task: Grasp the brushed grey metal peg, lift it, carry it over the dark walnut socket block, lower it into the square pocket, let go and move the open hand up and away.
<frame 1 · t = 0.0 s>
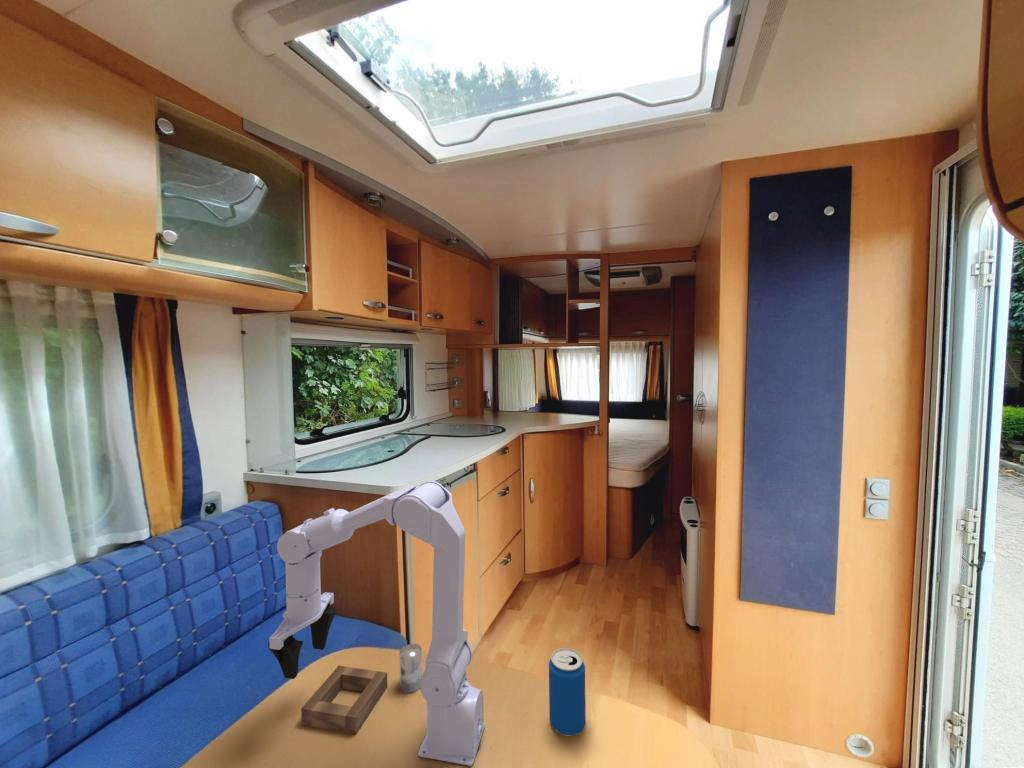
hand: (305, 661, 75), 10 cm above the table, tool pointing down, fingers open, 7 cm apart
metal peg: (411, 684, 82), on the table
beverage can: (567, 724, 73), on the table
walnut socket block: (346, 704, 77), on the table
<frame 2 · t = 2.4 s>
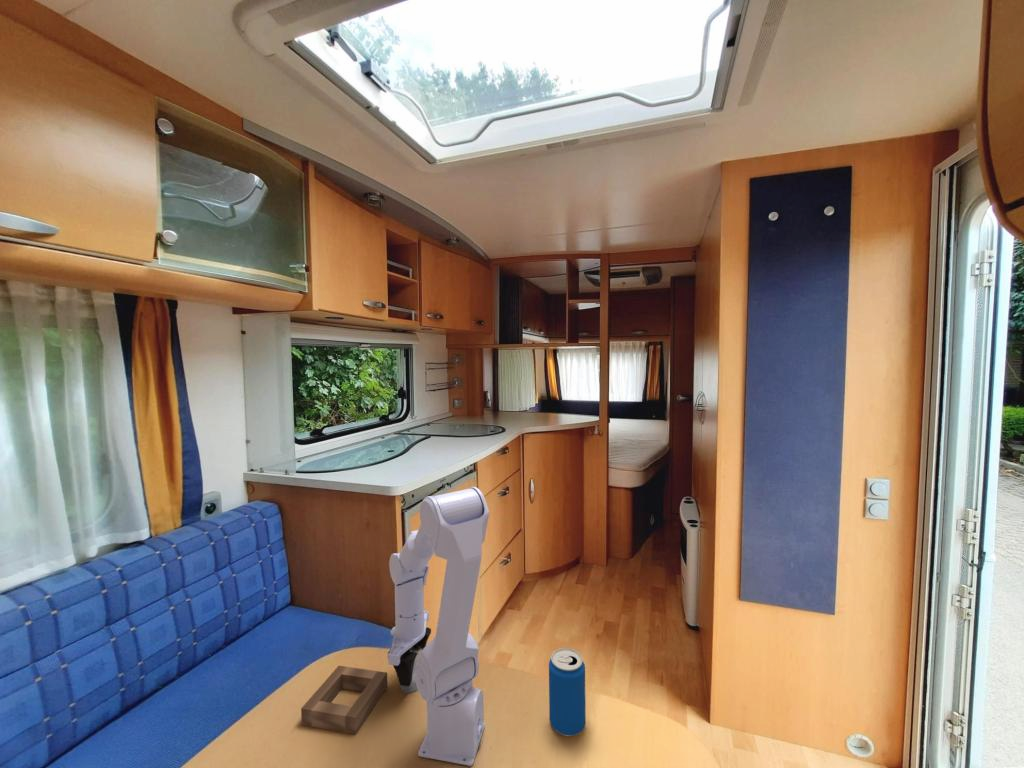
hand: (411, 675, 82), 2 cm above the table, tool pointing down, fingers closed on metal peg, 4 cm apart
metal peg: (411, 684, 82), on the table, touching gripper
everything else where it was.
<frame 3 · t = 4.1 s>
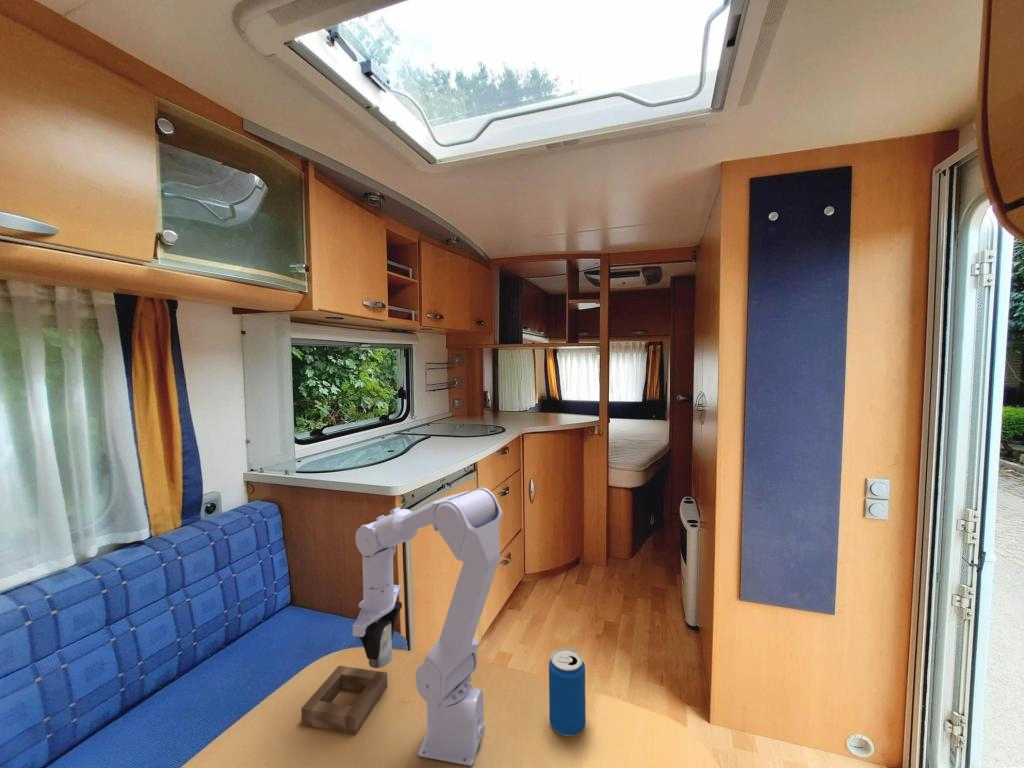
hand: (379, 649, 80), 9 cm above the table, tool pointing down, fingers closed on metal peg, 4 cm apart
metal peg: (380, 660, 80), point 7 cm above the table, touching gripper
everything else where it was.
when the fingers open (4 cm above the table, at t = 6.3 s): metal peg drops 1 cm, resting in walnut socket block.
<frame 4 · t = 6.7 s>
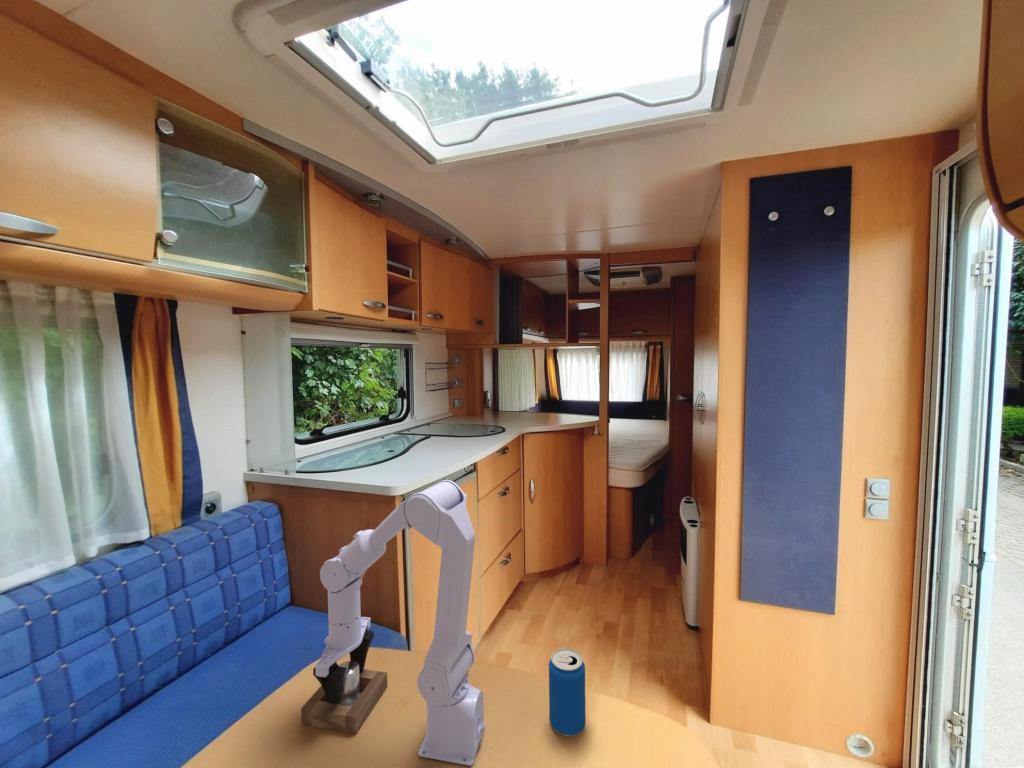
hand: (346, 686, 77), 4 cm above the table, tool pointing down, fingers open, 7 cm apart
metal peg: (347, 704, 78), resting in walnut socket block
everything else where it was.
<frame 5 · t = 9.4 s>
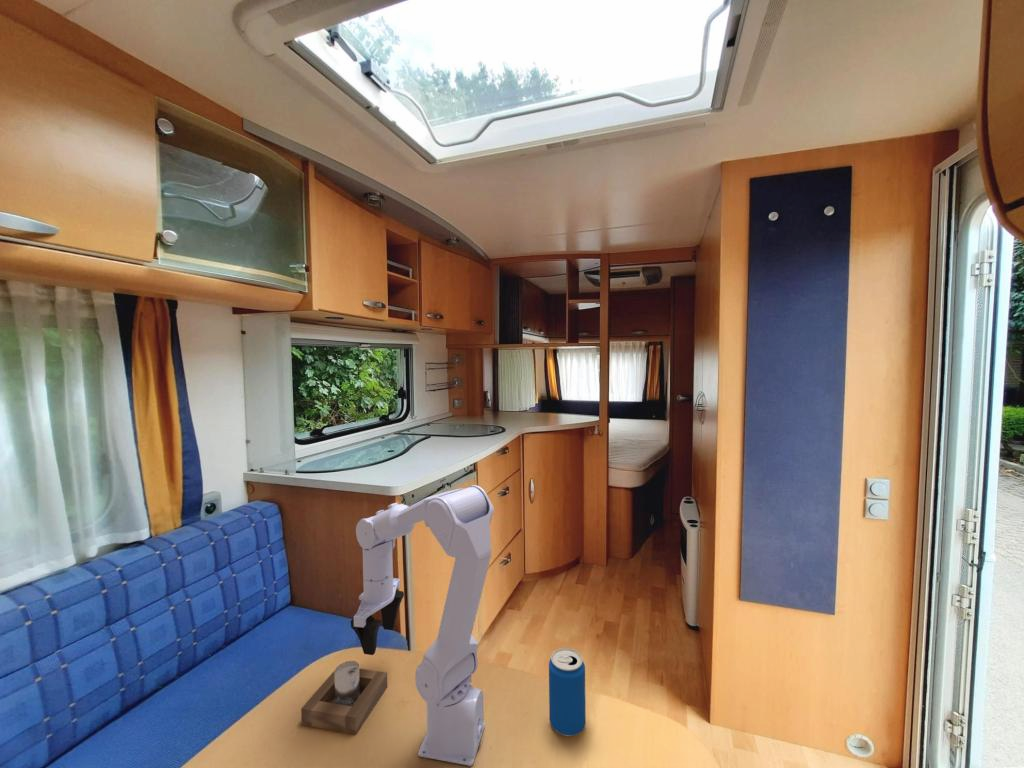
hand: (379, 640, 82), 9 cm above the table, tool pointing down, fingers open, 7 cm apart
nothing on the table moved.
at the end: metal peg 0.1 cm off-centre on the walnut socket block, point 0.0 cm above the walnut socket block's base; metal peg tilted 0°; the gripper is holding nothing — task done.
